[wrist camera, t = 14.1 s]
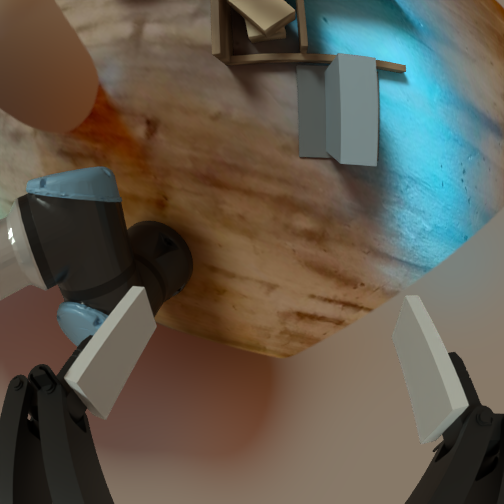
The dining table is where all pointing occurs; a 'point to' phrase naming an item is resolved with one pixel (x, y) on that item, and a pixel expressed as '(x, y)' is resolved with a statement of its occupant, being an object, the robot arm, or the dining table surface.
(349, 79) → the grey rectangular block
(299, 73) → the mat
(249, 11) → the offcut upper
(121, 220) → the robot arm
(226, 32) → the rack
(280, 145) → the dining table surface
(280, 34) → the offcut lower
